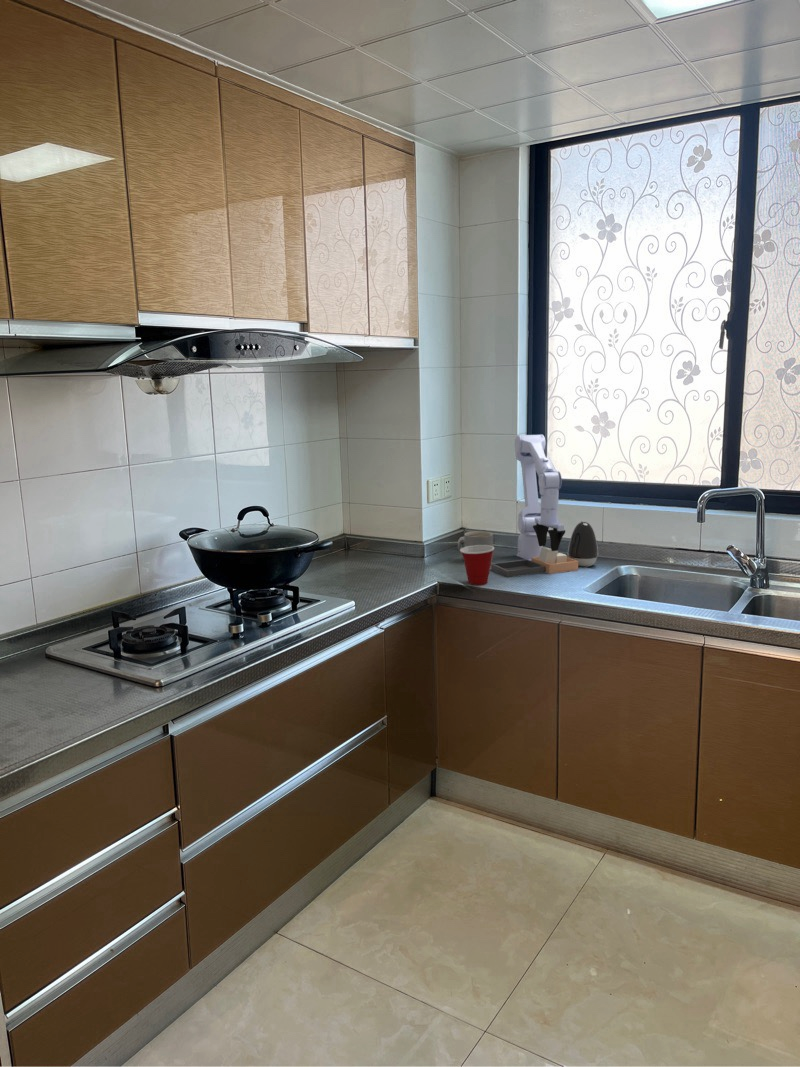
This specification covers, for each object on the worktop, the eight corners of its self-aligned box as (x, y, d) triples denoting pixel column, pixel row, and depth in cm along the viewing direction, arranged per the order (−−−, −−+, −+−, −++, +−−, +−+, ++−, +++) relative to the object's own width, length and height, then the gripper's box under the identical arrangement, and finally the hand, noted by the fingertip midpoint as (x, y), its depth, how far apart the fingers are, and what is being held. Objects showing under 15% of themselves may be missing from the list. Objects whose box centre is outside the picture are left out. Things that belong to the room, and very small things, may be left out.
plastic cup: (462, 579, 260) (462, 543, 257) (495, 580, 258) (495, 544, 255) (457, 588, 249) (457, 550, 247) (492, 589, 247) (492, 551, 245)
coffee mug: (498, 561, 282) (498, 534, 280) (478, 566, 276) (478, 538, 274) (471, 555, 292) (471, 528, 290) (451, 560, 286) (451, 532, 284)
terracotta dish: (531, 567, 273) (531, 557, 272) (559, 564, 277) (559, 554, 276) (549, 575, 263) (549, 564, 262) (578, 571, 267) (578, 561, 266)
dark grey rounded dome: (595, 561, 280) (596, 519, 277) (599, 569, 270) (601, 524, 267) (565, 561, 281) (566, 519, 278) (569, 568, 271) (570, 524, 268)
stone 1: (538, 559, 269) (541, 546, 269) (548, 561, 271) (551, 548, 270) (544, 562, 265) (548, 549, 265) (554, 564, 267) (558, 551, 267)
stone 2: (549, 566, 271) (550, 553, 271) (559, 565, 273) (560, 552, 272) (556, 569, 268) (556, 556, 267) (566, 568, 269) (566, 555, 268)
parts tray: (490, 571, 269) (490, 563, 269) (527, 566, 275) (527, 559, 274) (507, 579, 259) (507, 571, 259) (545, 574, 264) (545, 566, 264)
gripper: (527, 505, 270) (526, 545, 273) (551, 512, 257) (550, 554, 260) (545, 504, 272) (544, 542, 275) (569, 510, 259) (568, 551, 262)
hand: (548, 548), depth 268 cm, fingers open, 7 cm apart
